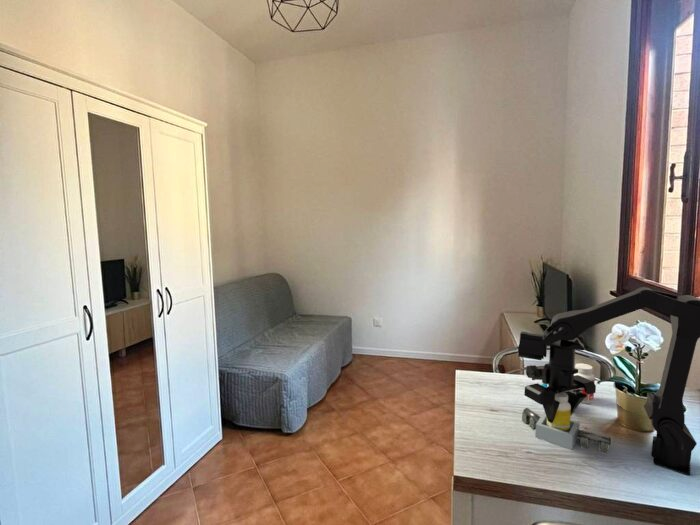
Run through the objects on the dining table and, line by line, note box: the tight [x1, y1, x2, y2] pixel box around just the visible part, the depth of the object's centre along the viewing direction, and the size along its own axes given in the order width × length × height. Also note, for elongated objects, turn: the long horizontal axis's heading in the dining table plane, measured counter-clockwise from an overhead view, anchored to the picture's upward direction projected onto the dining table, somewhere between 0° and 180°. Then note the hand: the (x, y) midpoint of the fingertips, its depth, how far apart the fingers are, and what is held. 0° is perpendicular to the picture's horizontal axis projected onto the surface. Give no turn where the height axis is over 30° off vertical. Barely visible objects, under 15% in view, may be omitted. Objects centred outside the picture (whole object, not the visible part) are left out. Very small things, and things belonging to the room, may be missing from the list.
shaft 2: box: [577, 428, 612, 454], centre depth 95 cm, size 7×3×4 cm, turn 59°
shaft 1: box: [521, 407, 541, 430], centre depth 105 cm, size 6×3×4 cm, turn 14°
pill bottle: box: [574, 363, 596, 404], centre depth 119 cm, size 6×6×11 cm
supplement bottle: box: [547, 392, 571, 433], centre depth 99 cm, size 5×5×10 cm
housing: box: [534, 411, 581, 450], centre depth 99 cm, size 8×8×4 cm
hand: (558, 419), depth 99 cm, fingers closed on supplement bottle, 5 cm apart
